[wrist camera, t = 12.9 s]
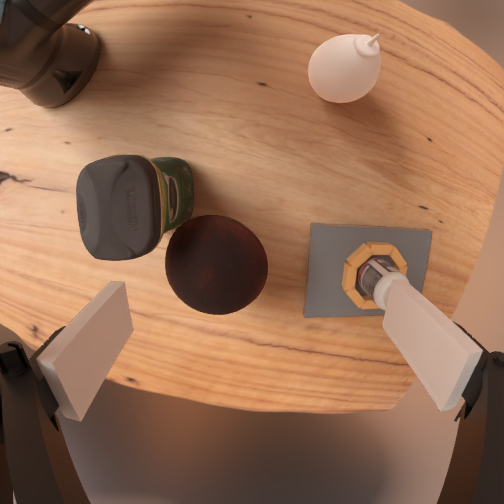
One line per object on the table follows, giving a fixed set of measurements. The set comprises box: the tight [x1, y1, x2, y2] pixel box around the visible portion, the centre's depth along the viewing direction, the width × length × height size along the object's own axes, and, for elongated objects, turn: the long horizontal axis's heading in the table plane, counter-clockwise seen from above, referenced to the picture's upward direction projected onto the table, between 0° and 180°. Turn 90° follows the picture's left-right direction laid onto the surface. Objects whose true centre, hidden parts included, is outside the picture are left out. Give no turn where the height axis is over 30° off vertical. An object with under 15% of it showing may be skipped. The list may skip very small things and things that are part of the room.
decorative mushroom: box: [165, 215, 268, 315], centre depth 33 cm, size 11×11×15 cm
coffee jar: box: [76, 154, 193, 261], centre depth 30 cm, size 10×8×19 cm
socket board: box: [303, 223, 432, 318], centre depth 40 cm, size 14×20×3 cm
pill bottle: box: [358, 258, 410, 311], centre depth 36 cm, size 5×5×10 cm
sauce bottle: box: [308, 34, 381, 103], centre depth 26 cm, size 8×8×18 cm
